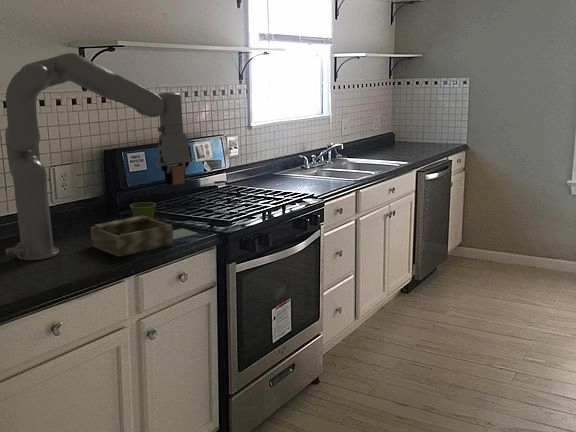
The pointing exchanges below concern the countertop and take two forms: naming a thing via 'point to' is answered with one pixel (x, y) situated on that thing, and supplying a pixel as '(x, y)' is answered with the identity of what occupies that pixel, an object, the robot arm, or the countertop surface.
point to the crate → (131, 235)
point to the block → (177, 174)
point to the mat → (183, 234)
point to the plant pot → (143, 209)
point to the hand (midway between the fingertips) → (175, 182)
